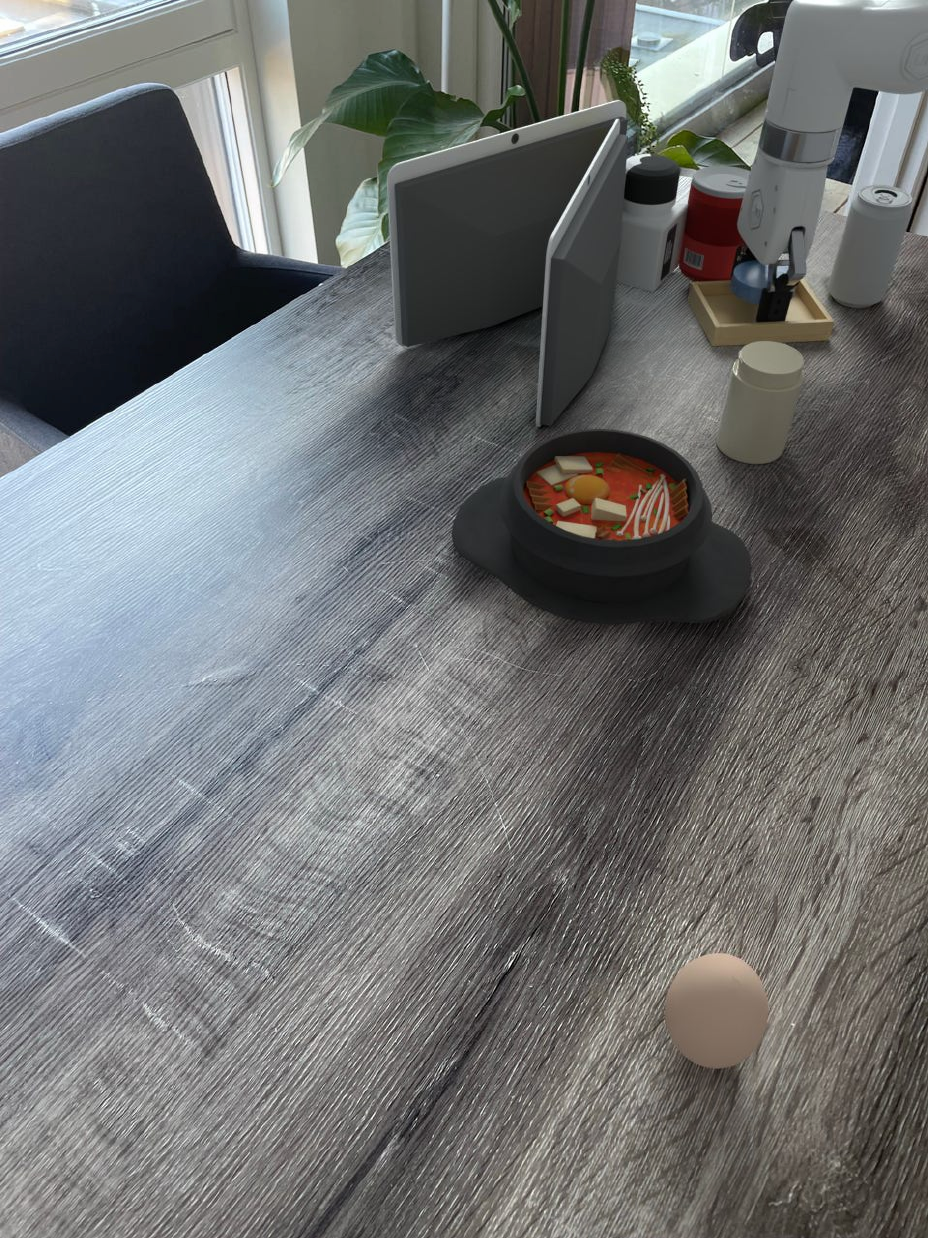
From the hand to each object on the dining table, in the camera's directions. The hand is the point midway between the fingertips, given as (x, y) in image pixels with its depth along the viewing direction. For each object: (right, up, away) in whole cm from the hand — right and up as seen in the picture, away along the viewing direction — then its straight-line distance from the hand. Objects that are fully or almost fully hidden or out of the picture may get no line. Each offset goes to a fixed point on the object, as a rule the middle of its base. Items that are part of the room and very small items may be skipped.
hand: (759, 303), depth 111 cm
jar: (-5, -18, -15) cm, 24 cm away
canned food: (-3, +7, +10) cm, 12 cm away
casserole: (-22, -30, -27) cm, 46 cm away
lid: (0, +2, -2) cm, 3 cm away
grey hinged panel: (-28, -4, -1) cm, 28 cm away
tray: (0, -1, +1) cm, 2 cm away
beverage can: (+13, +2, +5) cm, 14 cm away
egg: (-19, -59, -55) cm, 83 cm away
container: (-12, +6, +9) cm, 16 cm away
